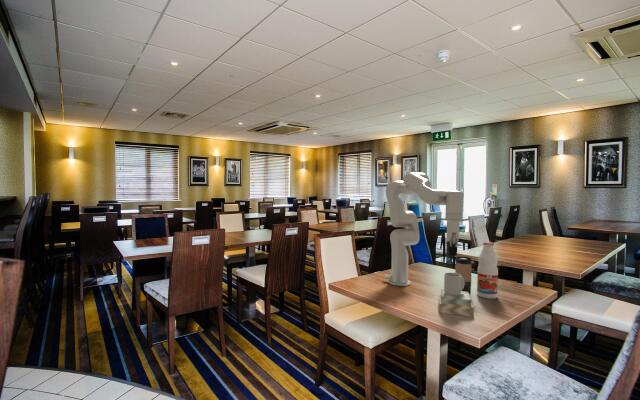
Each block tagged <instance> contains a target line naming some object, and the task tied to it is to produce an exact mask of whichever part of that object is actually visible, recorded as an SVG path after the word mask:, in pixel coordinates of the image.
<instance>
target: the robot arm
mask: <svg viewBox="0 0 640 400" xmlns="http://www.w3.org/2000/svg"><path fill="white" fill-rule="evenodd" d="M416 194H417V195H418V199H419V200H421V202H422V201H423V202H424V203H425V204H428V205H431V206H445V216H444V218H445V221H447V223H446V237H445V239H446V242H448V252H449V253H448V254H449V255H448V256H455V257H458V244H457V243H458V242H459V238H460V225H461V224H460V223H461V222H462V221H463V219H464V216H463V215H464V197H465V196H464V191H461V190H451V189H450V190H449V189H432V183H431V181H430V178H429V175H427V173H425V172H408V173H406V174H404V176H403V177H402V180H392V181H390V182H389V183H387V184H386V188H385V196H386V200H387V204H388V210H389V217H390V223H391V226H392V227H394V228H399V229H394V230H392V231H391V233H390V234H389V238H390V239H389V240H390V245H391V272H390V274H383V279H387V280H388V284H390V285H392V286H399V287H407V286H410V285H411V284H412V283H411V281H410V280H409V252H408V249H407V246H414V245H417V244H418V243H419V242H420V229H419V228H420V227H419V221H418V217H417V214H416V213H415V212H414V211H412V210H405V205H404V202H403V200H402V198H400V196H413V195H416ZM404 227H406V228H404Z"/></svg>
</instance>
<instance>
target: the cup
mask: <svg viewBox="0 0 640 400" xmlns="http://www.w3.org/2000/svg"><path fill="white" fill-rule="evenodd" d="M443 278H444V279H443V289H444V293H445V294H446V295H450V296H460V295H461V290H462V289H463V288H464V285H465V282H464V278H463V277H462V276H461V275H460V274H457V273H455V272H445V273H444V275H443Z"/></svg>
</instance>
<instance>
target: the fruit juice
mask: <svg viewBox="0 0 640 400" xmlns="http://www.w3.org/2000/svg"><path fill="white" fill-rule="evenodd" d="M482 246H483V247H482V250H481V252H480V253H479V255H478V258H477V260H478V266H477V277H476V278H477V280H476V281H477V282H476V295H477V296H478V297H480V298H484V299H489V300H490V299H491V300H492V299H497V298H498V289H499V288H498V287H499V286H498V281H499V270H498V267H497V266H498V262H499V260H498V256H497V255H496V253H495V249H494V246H495V245H494V242H492V241H483V242H482Z"/></svg>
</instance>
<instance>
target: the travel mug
mask: <svg viewBox="0 0 640 400" xmlns="http://www.w3.org/2000/svg"><path fill="white" fill-rule="evenodd" d="M472 260H473V259H472V258H471V257H469V256H455V269H454V270H455V272H454V273H457V274H460V275H461V276H462V277H463V278H464V282H465V285H464V288H463V289H462V290H461V291H466V292H469V295H470V296H471V294H472V292H471V291H472V263H473V262H472Z"/></svg>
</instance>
